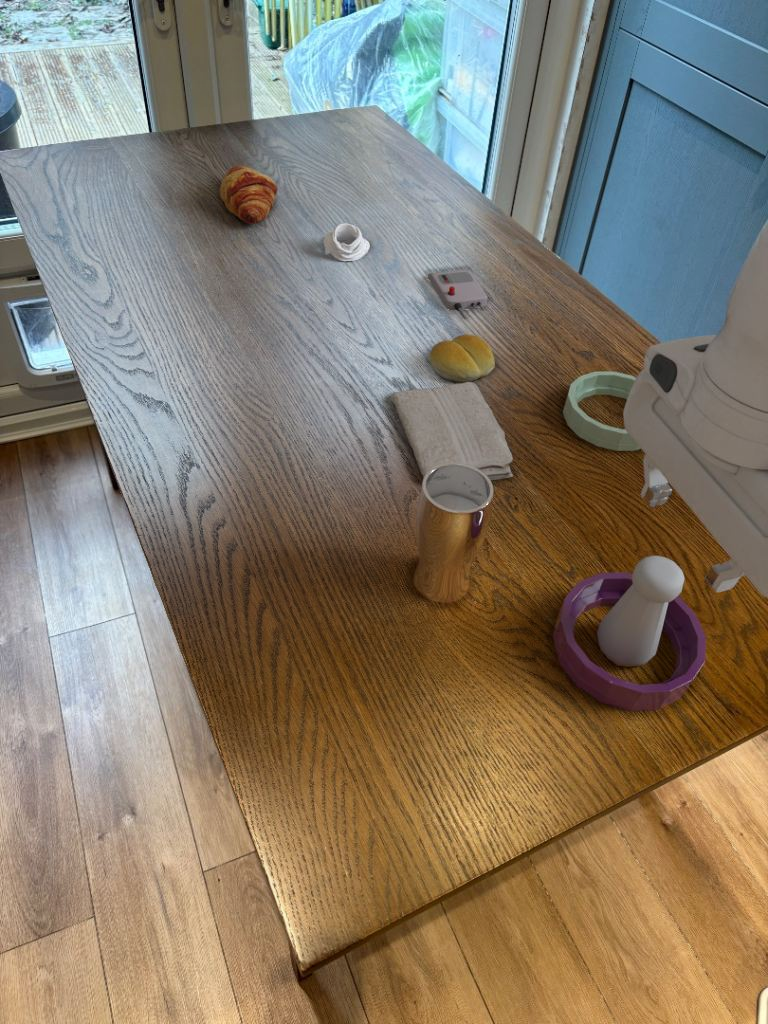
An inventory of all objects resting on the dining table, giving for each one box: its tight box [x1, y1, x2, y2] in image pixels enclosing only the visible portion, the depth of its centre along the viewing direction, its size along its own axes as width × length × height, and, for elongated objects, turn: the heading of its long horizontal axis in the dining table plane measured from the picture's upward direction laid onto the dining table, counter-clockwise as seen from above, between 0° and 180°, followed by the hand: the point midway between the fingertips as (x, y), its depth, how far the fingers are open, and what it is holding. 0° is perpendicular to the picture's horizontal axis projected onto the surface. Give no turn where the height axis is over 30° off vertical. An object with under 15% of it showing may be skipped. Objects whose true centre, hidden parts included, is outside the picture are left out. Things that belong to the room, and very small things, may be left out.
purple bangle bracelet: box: [552, 571, 707, 712], centre depth 73 cm, size 14×14×4 cm
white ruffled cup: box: [322, 222, 371, 263], centre depth 125 cm, size 8×7×5 cm
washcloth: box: [389, 381, 514, 481], centre depth 94 cm, size 12×18×3 cm, turn 15°
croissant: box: [219, 165, 279, 225], centre depth 135 cm, size 21×10×8 cm, turn 14°
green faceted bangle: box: [562, 370, 642, 452], centre depth 98 cm, size 13×13×4 cm
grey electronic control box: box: [427, 269, 488, 320], centre depth 118 cm, size 7×16×3 cm, turn 16°
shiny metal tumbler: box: [413, 462, 494, 604], centre depth 74 cm, size 7×7×15 cm
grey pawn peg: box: [596, 555, 685, 668], centre depth 70 cm, size 6×6×13 cm
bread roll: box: [429, 334, 496, 383], centre depth 105 cm, size 8×9×4 cm
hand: (683, 540), depth 62 cm, fingers open, 8 cm apart
